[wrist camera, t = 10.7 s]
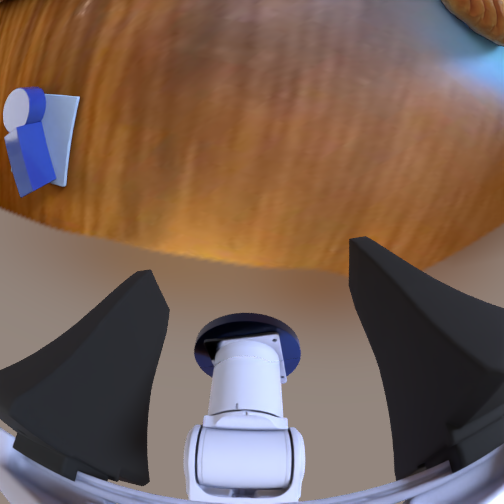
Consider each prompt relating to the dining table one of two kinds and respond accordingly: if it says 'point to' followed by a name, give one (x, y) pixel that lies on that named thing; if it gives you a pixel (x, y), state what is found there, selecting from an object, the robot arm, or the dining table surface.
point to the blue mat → (59, 132)
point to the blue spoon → (27, 139)
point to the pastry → (480, 17)
